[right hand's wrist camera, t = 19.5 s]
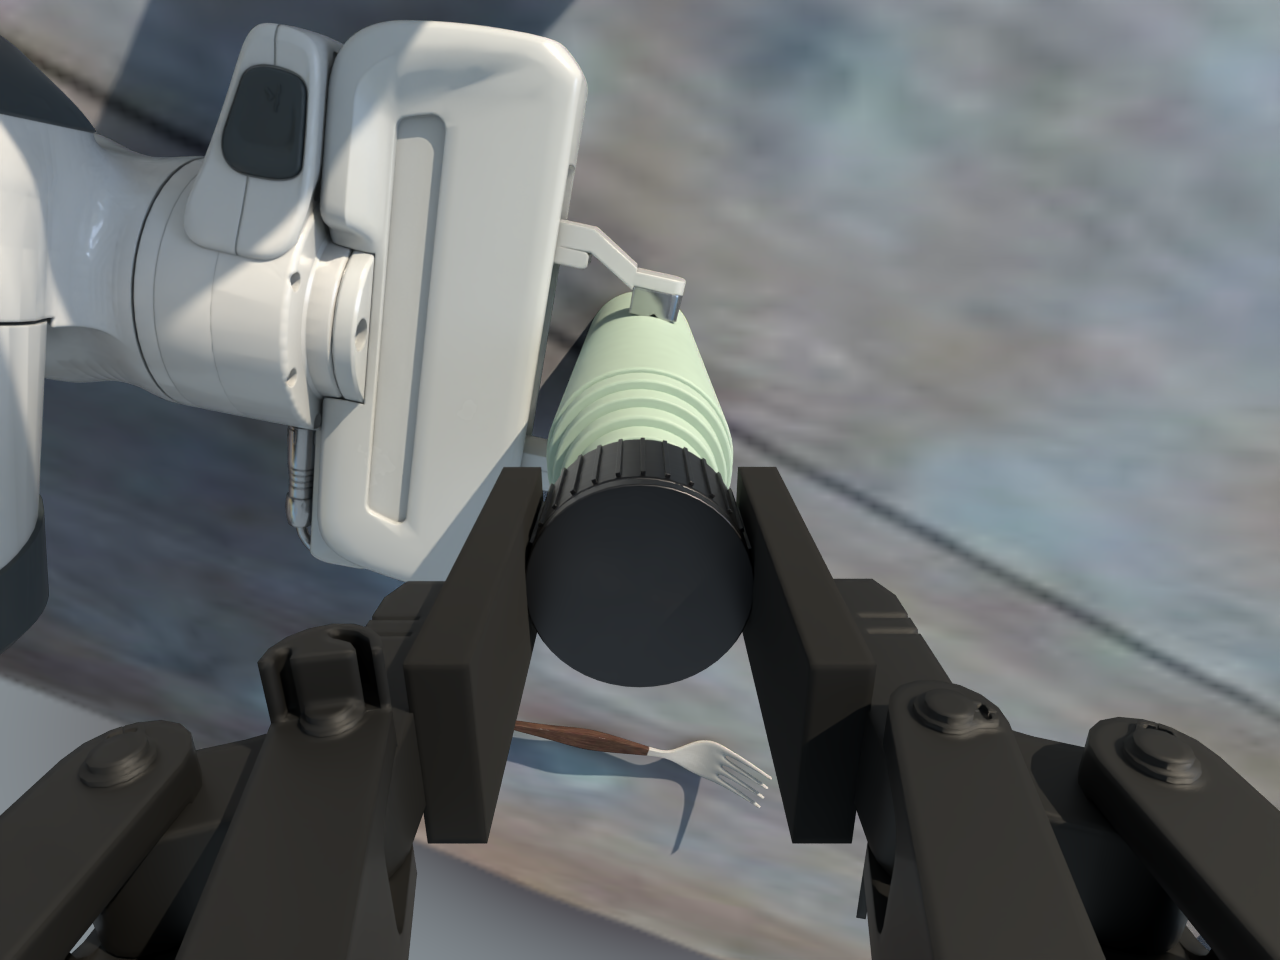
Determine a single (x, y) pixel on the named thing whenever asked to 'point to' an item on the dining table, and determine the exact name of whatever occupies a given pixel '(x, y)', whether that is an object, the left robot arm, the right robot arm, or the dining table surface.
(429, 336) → the left robot arm
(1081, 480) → the dining table surface
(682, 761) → the fork
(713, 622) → the cap
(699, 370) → the bottle
